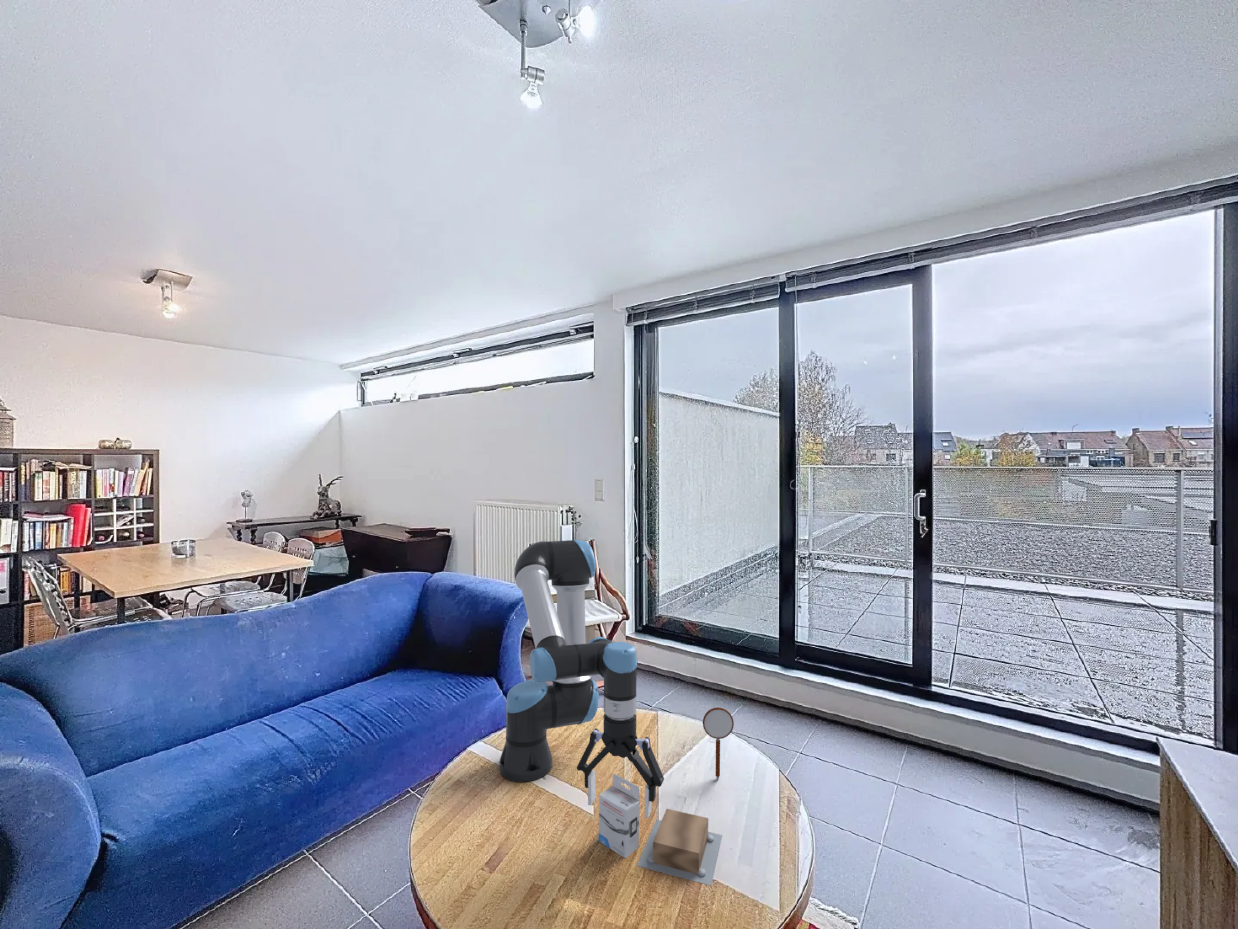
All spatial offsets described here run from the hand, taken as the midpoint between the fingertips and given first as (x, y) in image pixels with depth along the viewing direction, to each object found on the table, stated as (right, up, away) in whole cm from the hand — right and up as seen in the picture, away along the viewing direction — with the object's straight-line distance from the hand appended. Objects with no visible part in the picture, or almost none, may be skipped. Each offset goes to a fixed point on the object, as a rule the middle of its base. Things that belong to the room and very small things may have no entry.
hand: (619, 808), depth 120 cm
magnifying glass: (+28, -10, +28) cm, 41 cm away
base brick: (+14, -8, -2) cm, 16 cm away
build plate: (+14, -10, -2) cm, 17 cm away
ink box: (0, -10, 0) cm, 10 cm away
